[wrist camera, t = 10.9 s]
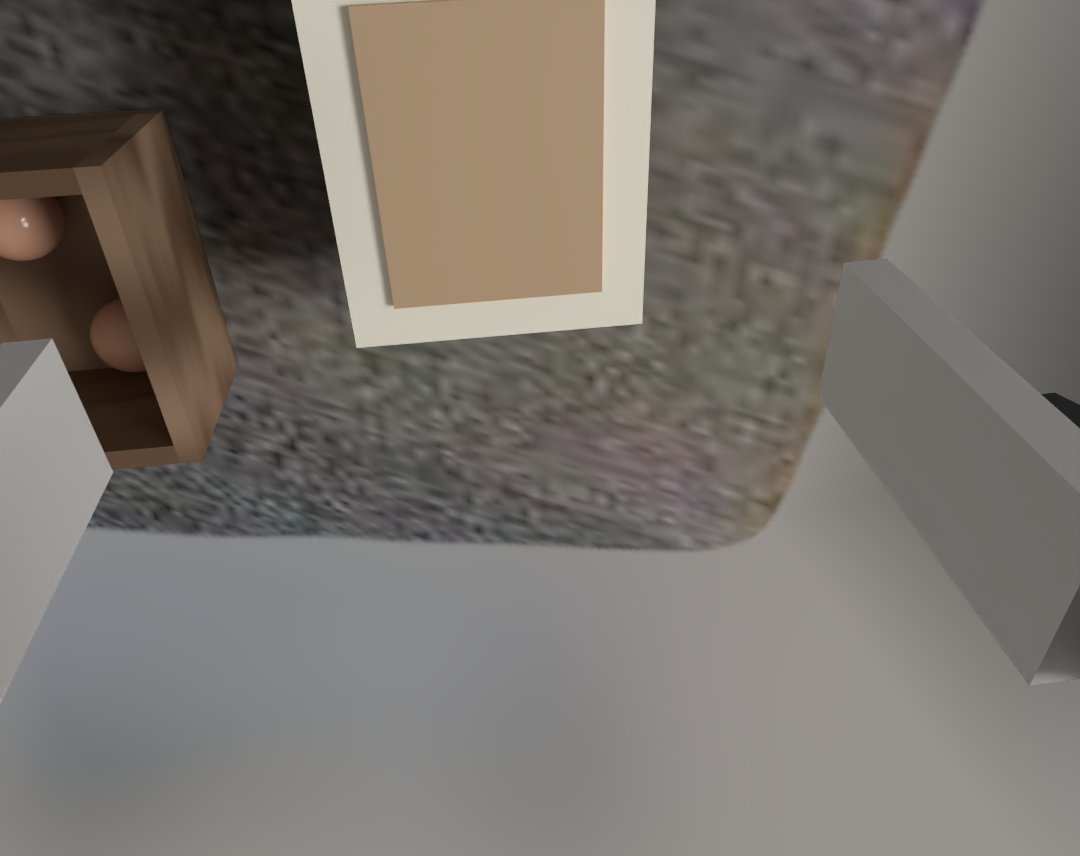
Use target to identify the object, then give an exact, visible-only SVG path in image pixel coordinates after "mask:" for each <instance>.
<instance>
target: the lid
mask: <svg viewBox="0 0 1080 856" xmlns="http://www.w3.org/2000/svg"><path fill="white" fill-rule="evenodd" d="M655 1H656V0H291V2H292V7H293V12H294V18H295V23H296V28H297V33H298V39H299V44H300V49H301V55H302V60H303V65H304V71H305V76H306V81H307V87H308V92H309V97H310V102H311V108H312V113H313V118H314V124H315V129H316V134H317V140H318V145H319V150H320V156H321V161H322V166H323V171H324V177H325V182H326V187H327V193H328V198H329V203H330V209H331V214H332V219H333V225H334V230H335V235H336V241H337V246H338V251H339V256H340V262H341V267H342V272H343V278H344V283H345V288H346V294H347V299H348V304H349V310H350V315H351V320H352V325H353V331H354V336H355V341H356V347H357V348H361V347H373V346H385V345H397V344H408V343H420V342H432V341H443V340H455V339H467V338H479V337H490V336H502V335H514V334H525V333H537V332H549V331H561V330H572V329H584V328H596V327H607V326H619V325H631V324H642V313H643V289H644V265H645V241H646V217H647V193H648V169H649V145H650V121H651V97H652V73H653V49H654V25H655Z"/></svg>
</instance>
